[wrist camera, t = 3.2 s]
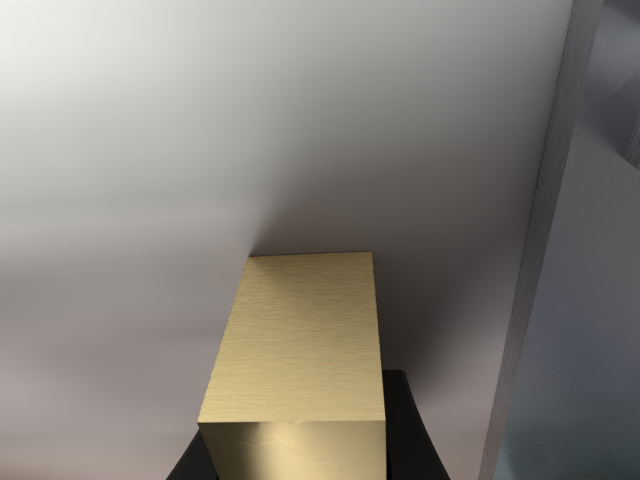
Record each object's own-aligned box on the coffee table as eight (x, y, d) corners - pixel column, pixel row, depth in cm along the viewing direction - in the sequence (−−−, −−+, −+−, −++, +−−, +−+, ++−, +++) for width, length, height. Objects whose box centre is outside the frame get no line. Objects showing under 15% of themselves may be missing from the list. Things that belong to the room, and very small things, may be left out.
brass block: (371, 251, 11) (385, 420, 7) (377, 427, 15) (388, 596, 11) (247, 256, 11) (197, 422, 7) (285, 428, 15) (265, 593, 11)
